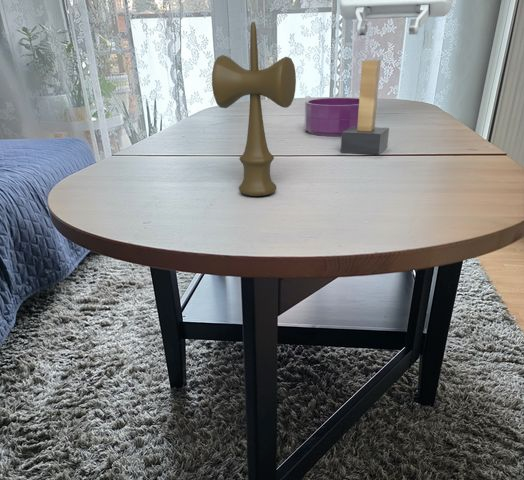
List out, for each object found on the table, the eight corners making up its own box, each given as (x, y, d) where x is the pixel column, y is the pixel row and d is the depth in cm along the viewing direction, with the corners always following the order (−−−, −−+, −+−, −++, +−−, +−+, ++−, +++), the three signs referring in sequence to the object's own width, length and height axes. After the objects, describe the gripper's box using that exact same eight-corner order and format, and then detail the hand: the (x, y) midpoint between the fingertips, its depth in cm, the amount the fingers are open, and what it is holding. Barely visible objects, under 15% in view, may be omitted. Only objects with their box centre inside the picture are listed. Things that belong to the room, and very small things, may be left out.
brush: (350, 145, 98) (356, 59, 90) (387, 147, 95) (396, 59, 88) (340, 152, 93) (345, 61, 85) (378, 155, 90) (387, 61, 82)
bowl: (361, 125, 119) (363, 96, 115) (376, 135, 107) (379, 104, 103) (300, 127, 118) (301, 98, 115) (309, 138, 106) (310, 106, 103)
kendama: (235, 185, 74) (226, 23, 63) (297, 190, 71) (300, 20, 60) (216, 196, 69) (204, 22, 59) (283, 202, 66) (282, 20, 56)
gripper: (460, -18, 94) (445, 45, 91) (353, -12, 101) (336, 46, 99) (463, -51, 88) (446, 15, 86) (348, -43, 95) (330, 19, 93)
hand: (386, 32), depth 92 cm, fingers open, 8 cm apart
